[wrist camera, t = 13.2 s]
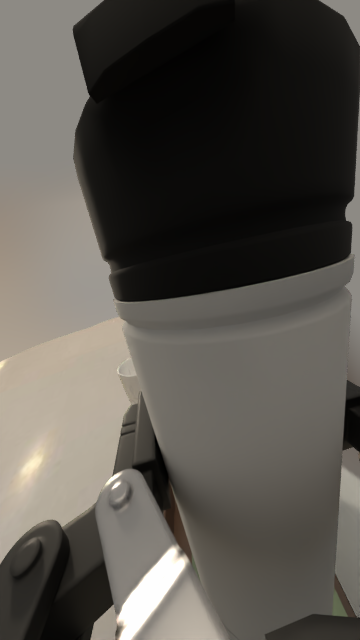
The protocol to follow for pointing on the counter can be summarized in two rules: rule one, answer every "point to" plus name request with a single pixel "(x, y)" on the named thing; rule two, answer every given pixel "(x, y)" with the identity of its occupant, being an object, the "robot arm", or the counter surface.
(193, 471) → the travel mug
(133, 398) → the white cup
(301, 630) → the robot arm
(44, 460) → the counter surface
